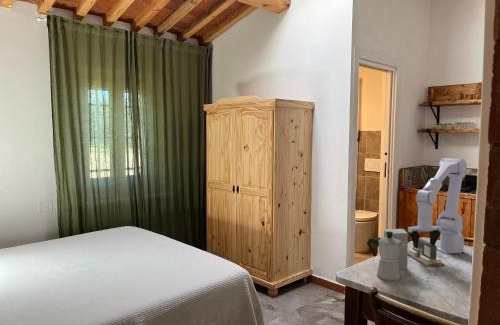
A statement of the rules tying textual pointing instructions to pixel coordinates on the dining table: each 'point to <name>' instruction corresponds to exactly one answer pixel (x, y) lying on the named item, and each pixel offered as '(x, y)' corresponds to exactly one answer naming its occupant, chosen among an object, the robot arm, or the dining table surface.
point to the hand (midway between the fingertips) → (424, 247)
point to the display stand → (424, 258)
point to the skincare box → (403, 237)
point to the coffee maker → (387, 256)
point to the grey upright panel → (426, 249)
